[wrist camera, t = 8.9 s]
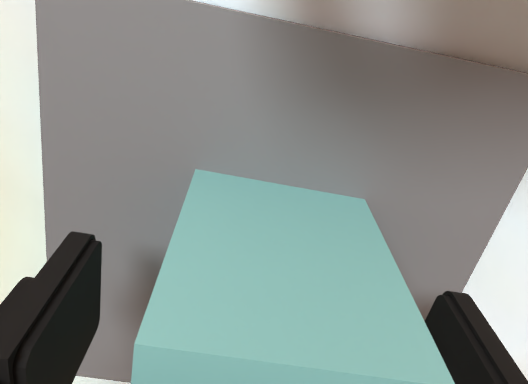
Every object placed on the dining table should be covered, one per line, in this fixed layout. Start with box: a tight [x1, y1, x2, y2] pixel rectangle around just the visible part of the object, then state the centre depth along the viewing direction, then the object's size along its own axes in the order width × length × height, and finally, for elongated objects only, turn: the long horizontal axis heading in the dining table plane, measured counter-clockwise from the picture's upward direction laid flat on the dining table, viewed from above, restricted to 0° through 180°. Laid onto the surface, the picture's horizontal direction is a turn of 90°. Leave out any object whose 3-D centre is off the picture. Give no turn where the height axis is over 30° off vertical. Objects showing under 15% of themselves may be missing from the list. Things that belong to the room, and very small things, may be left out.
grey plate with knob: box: [35, 0, 528, 383], centre depth 11 cm, size 14×14×6 cm
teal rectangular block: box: [131, 169, 455, 384], centre depth 11 cm, size 5×5×7 cm
